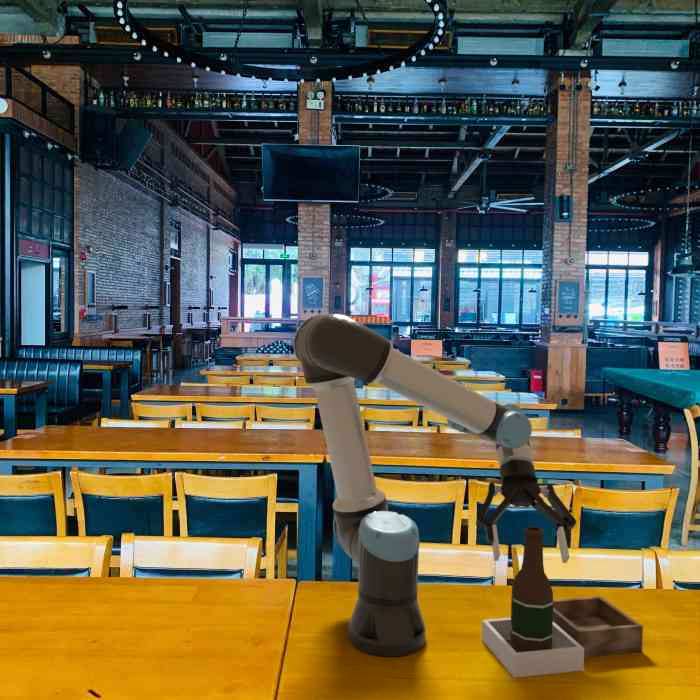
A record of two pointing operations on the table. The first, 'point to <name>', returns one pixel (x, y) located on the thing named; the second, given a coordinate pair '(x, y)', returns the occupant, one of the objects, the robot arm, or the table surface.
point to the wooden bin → (598, 626)
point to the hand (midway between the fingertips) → (531, 559)
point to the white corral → (532, 662)
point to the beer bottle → (531, 599)
